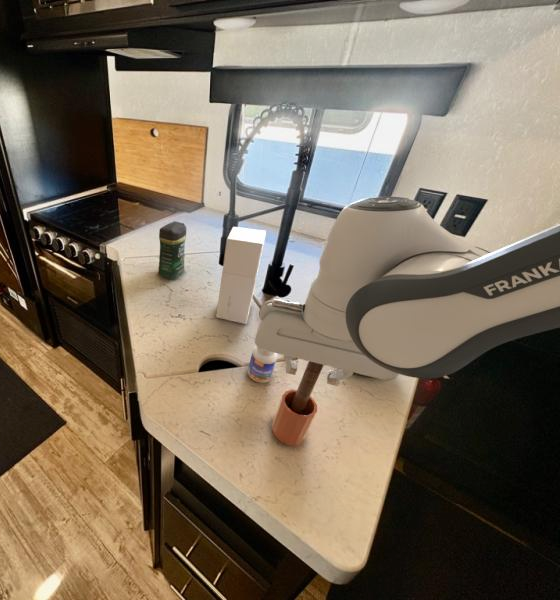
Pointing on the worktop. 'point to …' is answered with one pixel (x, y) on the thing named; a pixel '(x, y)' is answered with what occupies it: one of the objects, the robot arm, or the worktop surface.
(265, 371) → the pill bottle
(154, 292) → the worktop surface
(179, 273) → the coffee jar
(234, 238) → the tall white carton
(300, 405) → the stick
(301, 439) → the crock
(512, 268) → the robot arm
